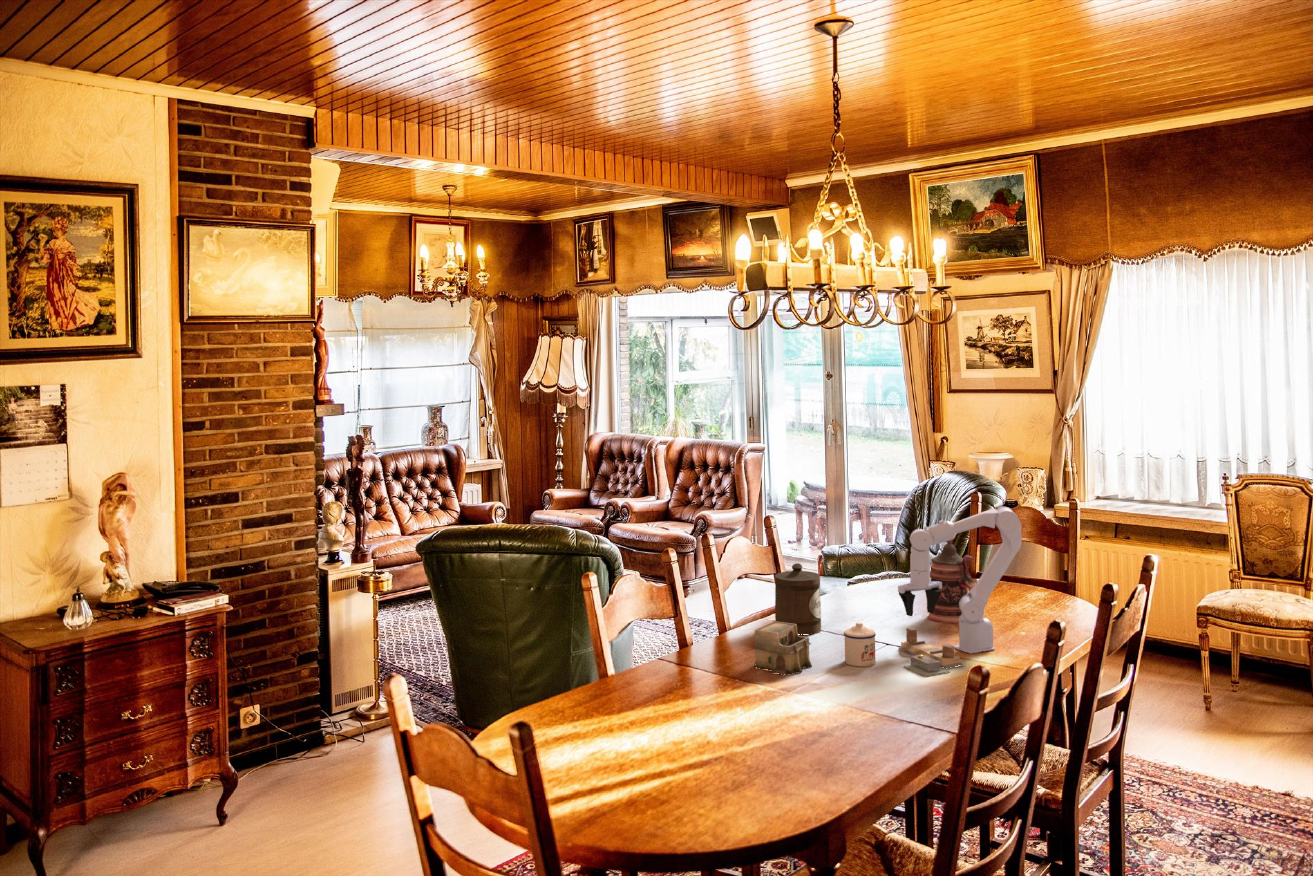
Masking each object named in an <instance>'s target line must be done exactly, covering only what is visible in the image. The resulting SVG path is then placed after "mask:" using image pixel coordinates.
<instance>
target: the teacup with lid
mask: <svg viewBox="0 0 1313 876" xmlns="http://www.w3.org/2000/svg"><path fill="white" fill-rule="evenodd" d="M843 636H844V662H845V663H846V664H847V665H848V666H852V667H859V668H861V667H862V668H866V667H870V665H871V666H873V665H875V664H876V631H875V630H873V629H871V628H869V627H867V626H865V625H864V624H863V622H859V621H858V622H856V623H855V625H854V626H852V627H849V628H846V629H845V630H844V632H843Z"/></svg>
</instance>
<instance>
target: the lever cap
mask: <svg viewBox="0 0 1313 876" xmlns="http://www.w3.org/2000/svg"><path fill="white" fill-rule="evenodd" d="M910 665H911V666H914V667H916V668H918V669H921V670H923V671H925V672H927V673H931V672H936V671H940V661H937V660H935V659H932V658H930V657H928V656H925V655H923V654H918V655H915V656H913V655H911V656H910Z"/></svg>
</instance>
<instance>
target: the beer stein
mask: <svg viewBox="0 0 1313 876" xmlns="http://www.w3.org/2000/svg"><path fill="white" fill-rule="evenodd" d="M953 541H954V539H952V540H949V541H946V542H945V543H946V544H944V546H943V548H942V550H941V553H939V554H938V555H936V556H935V557H933V558H930V562H931V564H930V582H933V581H939V582H942V589H939V590H941V595H940V596H939V598H938V600H937V603H936V605H935V609H934V613H929V612H928V615H927V617H926V618H927V619H928V620H929V621H932V622H934V623H943V624H959V617H960V616H961V614H962V611H961V610H960V607H959V601H960V599H961V598H962V597H963V596H965V595H966V594H968V593H969V591H970V590H971V589H972V588H973V587H974V586H975V585H976V583H977V582H976V581H975V580H974V579H973V578H972V576H971V573H970V571H969V570H970V569H971V566H970V562H971V561H973V558H974V556H971V555H969V554H966V555H964V556H963V557H961V556H960V555H959V554H958V553H957V548H956V546H955V545H954V544H953Z"/></svg>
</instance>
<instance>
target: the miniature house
mask: <svg viewBox="0 0 1313 876" xmlns="http://www.w3.org/2000/svg"><path fill="white" fill-rule="evenodd" d="M810 645H812V643H811V642H810V637H808V636H799V635H798V632H797V625H796V624H792V623H785V622H778V621H776V620H774V621H773V620H772V621H771V622H769V623H767V624H765V625H762V626H760V627H757V628H756V629H754V646H753V647H752V649H753V650H754V651H755V662H754V666H755V667H757V668H760V669H768V670H772V672H771V673H779V674H782V676H781V677H783V675H784V674H786V675H788V674H792V673H793V674H795V673H796V672H799V673H798V674H802V673H803V669H804V668H808V667H811V668H812V667H813V664H812V662H811V659H810ZM755 664H756V665H755ZM755 667H754V668H755ZM803 667H804V668H803ZM760 669H759V670H760ZM794 672H795V673H794ZM801 672H802V673H801ZM793 674H792V675H793ZM784 676H785V675H784Z"/></svg>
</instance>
